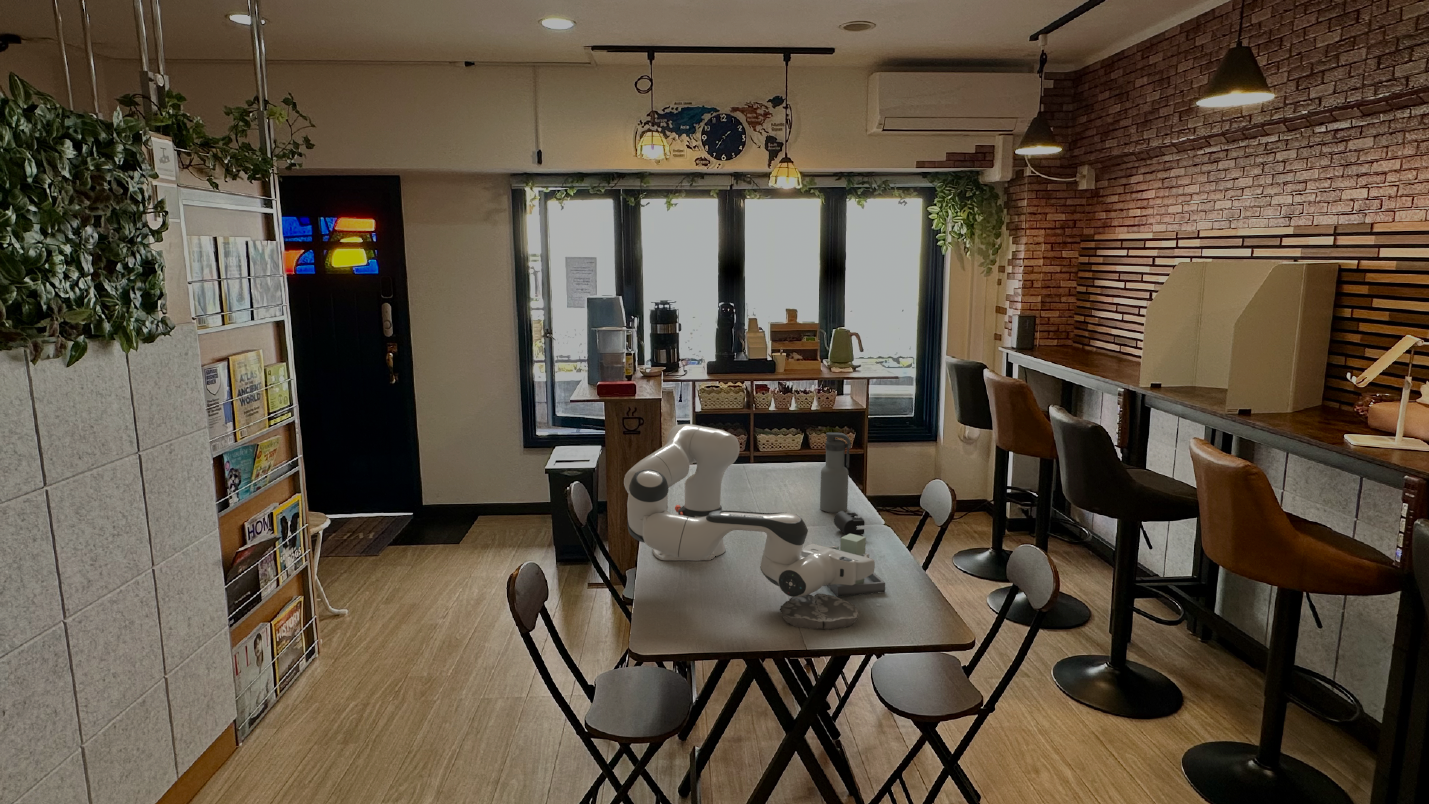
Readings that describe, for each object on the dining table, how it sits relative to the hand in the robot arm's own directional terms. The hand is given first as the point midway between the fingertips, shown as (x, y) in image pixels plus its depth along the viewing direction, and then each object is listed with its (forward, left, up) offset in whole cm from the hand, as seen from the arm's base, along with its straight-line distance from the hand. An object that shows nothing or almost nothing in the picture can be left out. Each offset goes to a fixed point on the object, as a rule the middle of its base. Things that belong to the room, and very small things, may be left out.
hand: (851, 552), depth 232 cm
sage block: (+1, +1, -9) cm, 9 cm away
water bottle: (+21, +69, -10) cm, 73 cm away
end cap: (+16, +42, -10) cm, 46 cm away
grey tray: (+1, +1, -10) cm, 10 cm away
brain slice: (-16, -17, -10) cm, 25 cm away
